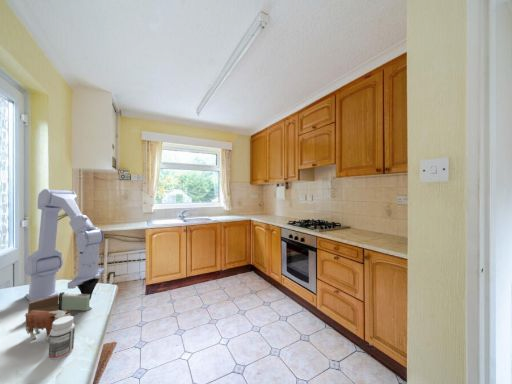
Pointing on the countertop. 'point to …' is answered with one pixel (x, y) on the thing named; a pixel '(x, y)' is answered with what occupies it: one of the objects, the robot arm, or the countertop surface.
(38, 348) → the countertop surface
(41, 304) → the fence section
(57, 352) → the pill bottle
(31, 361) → the countertop surface
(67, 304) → the fence gate
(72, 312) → the board
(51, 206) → the robot arm
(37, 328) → the bull figurine
